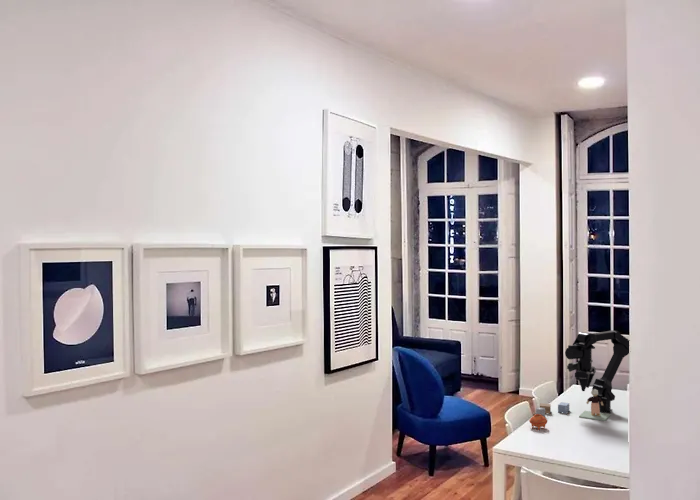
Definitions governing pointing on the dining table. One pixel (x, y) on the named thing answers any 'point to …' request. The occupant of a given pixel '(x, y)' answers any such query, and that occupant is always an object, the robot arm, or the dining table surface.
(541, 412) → the grey capsule
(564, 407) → the slate-blue block
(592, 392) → the grandmother figurine
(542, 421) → the pot
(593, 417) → the sage mat
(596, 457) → the dining table surface
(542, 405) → the walnut block
